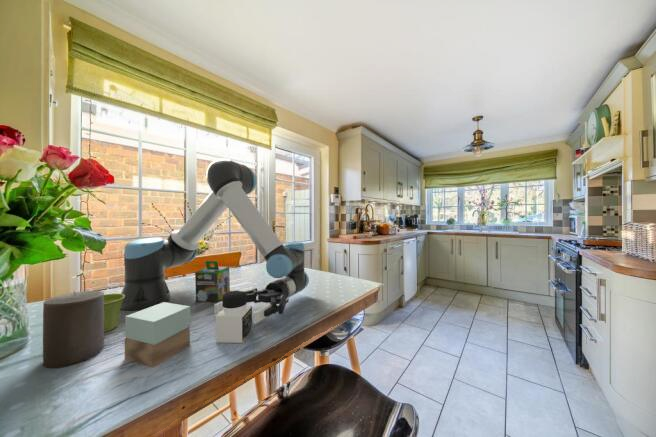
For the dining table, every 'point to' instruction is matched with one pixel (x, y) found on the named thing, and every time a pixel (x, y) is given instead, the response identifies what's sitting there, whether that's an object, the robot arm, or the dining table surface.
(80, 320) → the pillar candle
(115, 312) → the plant pot
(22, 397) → the dining table surface
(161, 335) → the tower top block
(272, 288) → the robot arm
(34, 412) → the dining table surface
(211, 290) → the chalk box
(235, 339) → the medicine bottle
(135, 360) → the tower base block
